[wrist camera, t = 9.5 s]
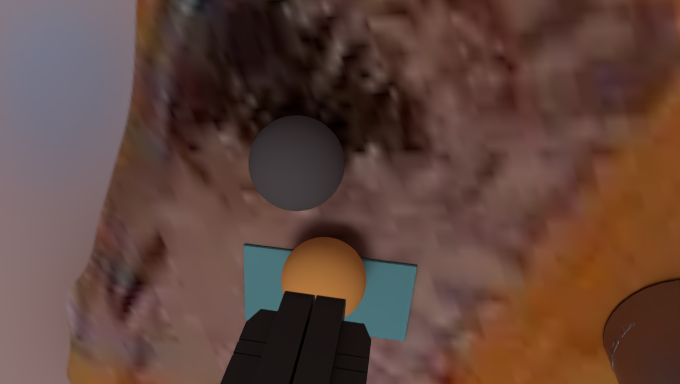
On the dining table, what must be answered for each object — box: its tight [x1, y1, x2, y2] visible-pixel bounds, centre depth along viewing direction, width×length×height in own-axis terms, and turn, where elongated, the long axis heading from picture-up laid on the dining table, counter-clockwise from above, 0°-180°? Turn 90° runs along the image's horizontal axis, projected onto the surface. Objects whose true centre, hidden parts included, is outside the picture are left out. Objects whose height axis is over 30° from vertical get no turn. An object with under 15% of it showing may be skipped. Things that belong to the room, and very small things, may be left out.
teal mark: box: [244, 244, 417, 341], centre depth 40 cm, size 12×7×1 cm, turn 86°
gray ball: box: [249, 115, 344, 211], centre depth 32 cm, size 6×6×6 cm
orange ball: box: [281, 237, 366, 317], centre depth 36 cm, size 6×6×6 cm
